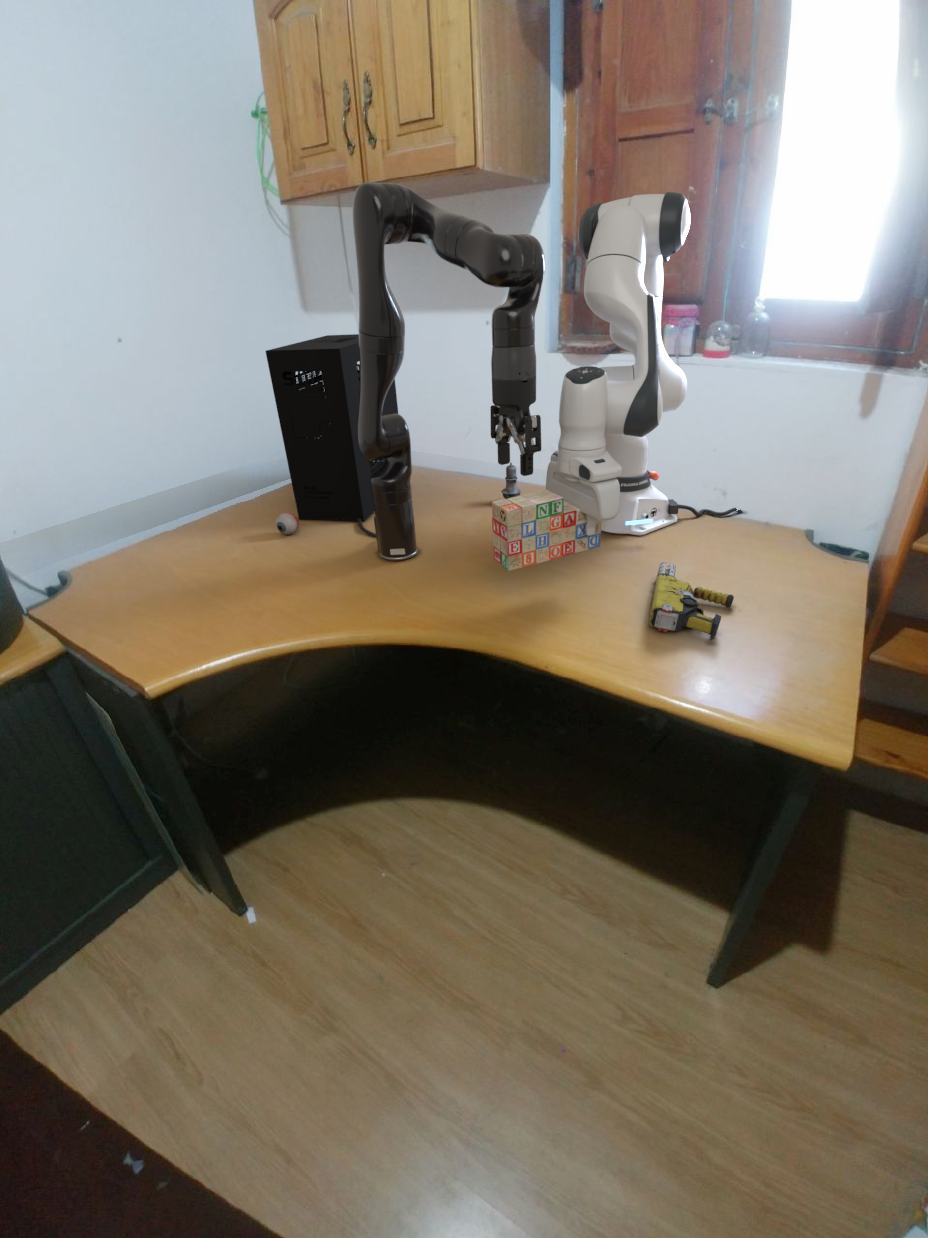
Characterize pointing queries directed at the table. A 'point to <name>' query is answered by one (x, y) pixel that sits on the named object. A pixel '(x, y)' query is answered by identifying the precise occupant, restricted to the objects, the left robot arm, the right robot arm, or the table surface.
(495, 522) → the stack of blocks
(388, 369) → the left robot arm
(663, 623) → the toy gun
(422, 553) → the table surface
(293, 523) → the eyeball
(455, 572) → the table surface
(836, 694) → the table surface
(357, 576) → the table surface
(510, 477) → the grey chess piece
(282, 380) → the black computer tower
